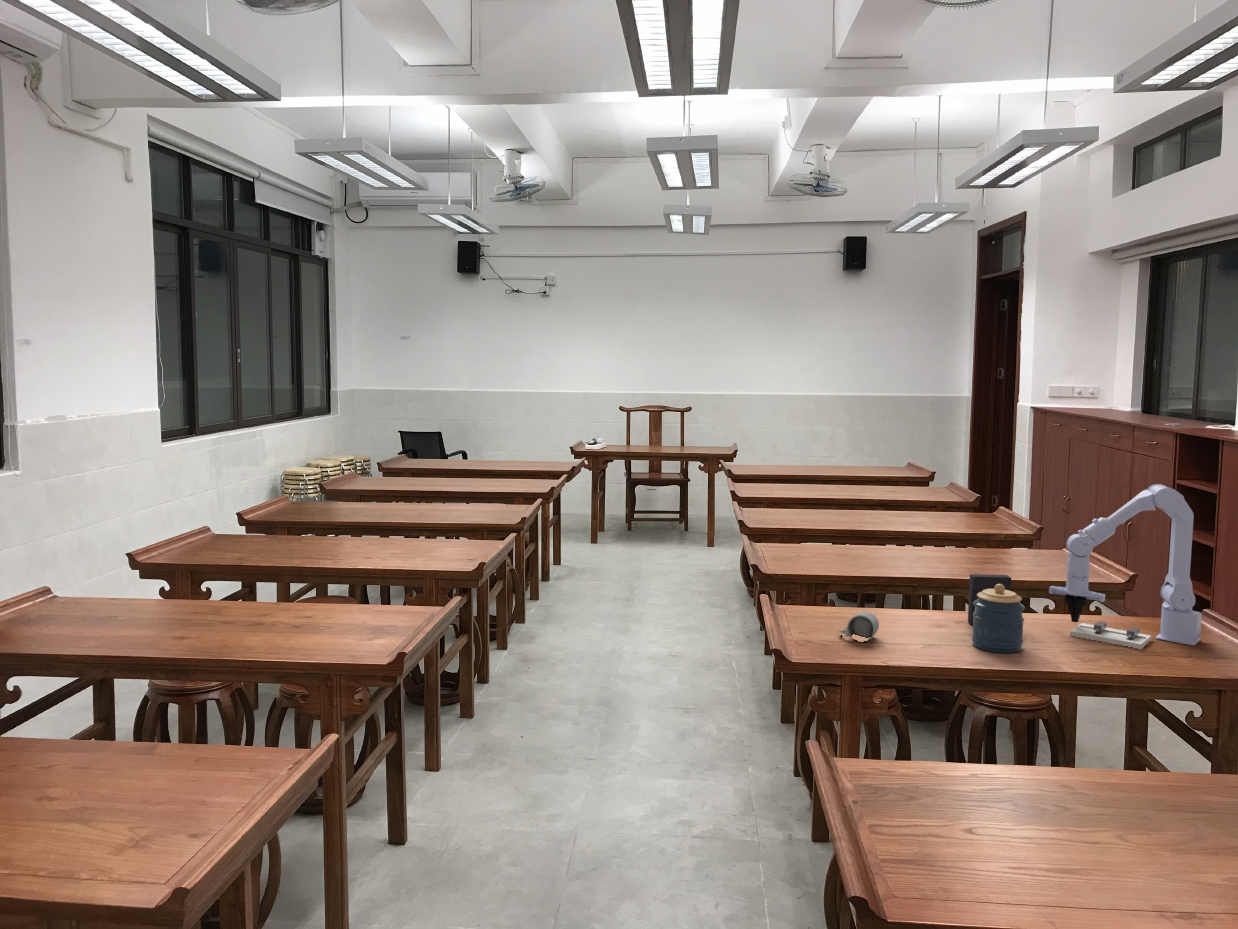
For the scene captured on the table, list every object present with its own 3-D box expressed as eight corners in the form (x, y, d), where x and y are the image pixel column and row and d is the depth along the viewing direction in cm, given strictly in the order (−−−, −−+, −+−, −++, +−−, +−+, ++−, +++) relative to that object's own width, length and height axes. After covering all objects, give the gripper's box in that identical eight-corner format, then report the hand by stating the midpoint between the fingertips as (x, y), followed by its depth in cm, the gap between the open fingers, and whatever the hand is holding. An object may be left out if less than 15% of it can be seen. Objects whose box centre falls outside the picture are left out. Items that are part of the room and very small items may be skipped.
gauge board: (1150, 640, 246) (1151, 634, 246) (1140, 649, 238) (1141, 643, 238) (1081, 627, 259) (1081, 622, 259) (1069, 636, 251) (1070, 630, 251)
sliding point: (1106, 628, 252) (1106, 622, 252) (1100, 632, 248) (1100, 626, 247) (1098, 626, 253) (1099, 621, 253) (1092, 631, 249) (1093, 625, 249)
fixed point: (1139, 634, 246) (1139, 628, 246) (1133, 638, 242) (1133, 632, 242) (1131, 632, 247) (1131, 627, 247) (1125, 637, 243) (1125, 631, 243)
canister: (998, 656, 233) (1001, 591, 231) (961, 643, 244) (963, 581, 242) (1033, 650, 238) (1036, 587, 236) (995, 637, 250) (998, 576, 248)
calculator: (1004, 623, 264) (1006, 574, 262) (1009, 627, 260) (1011, 577, 258) (966, 621, 265) (968, 573, 263) (971, 626, 261) (973, 576, 259)
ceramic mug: (879, 636, 250) (880, 610, 249) (874, 644, 243) (874, 617, 242) (842, 632, 255) (842, 606, 254) (835, 639, 248) (836, 613, 247)
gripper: (1046, 574, 256) (1044, 619, 257) (1101, 582, 246) (1098, 629, 247) (1054, 570, 261) (1052, 614, 262) (1108, 577, 251) (1105, 624, 252)
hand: (1075, 621), depth 255 cm, fingers closed
